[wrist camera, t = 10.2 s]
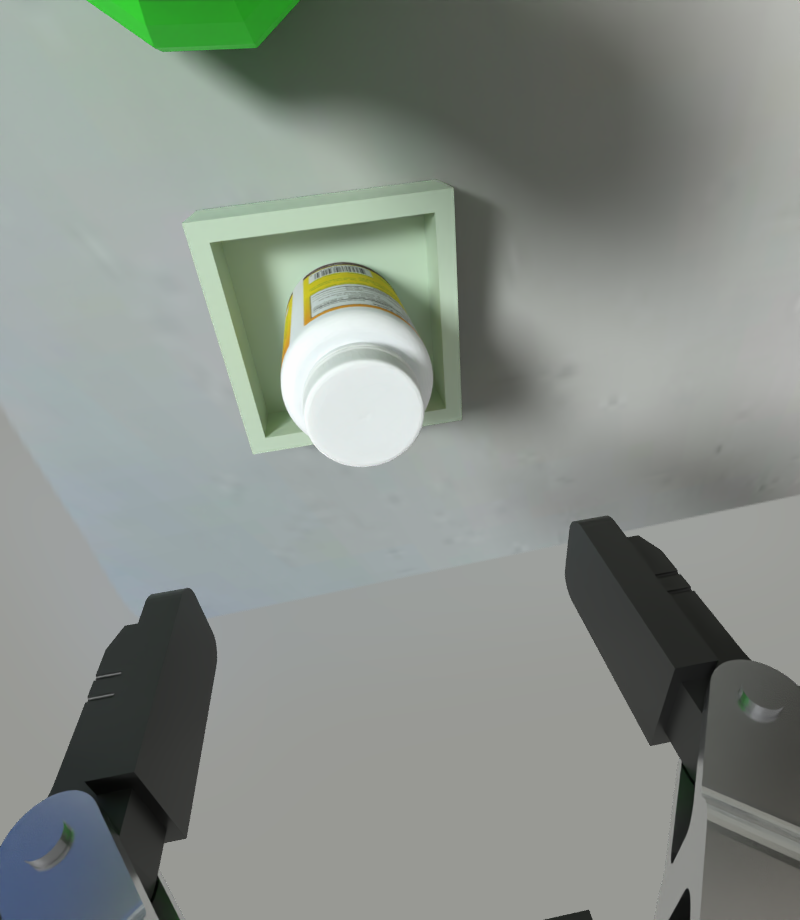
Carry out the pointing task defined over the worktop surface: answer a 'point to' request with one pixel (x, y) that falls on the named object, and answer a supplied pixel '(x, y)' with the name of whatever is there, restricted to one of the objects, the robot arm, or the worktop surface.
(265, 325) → the tray
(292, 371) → the supplement bottle
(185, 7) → the plastic bottle
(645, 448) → the worktop surface
